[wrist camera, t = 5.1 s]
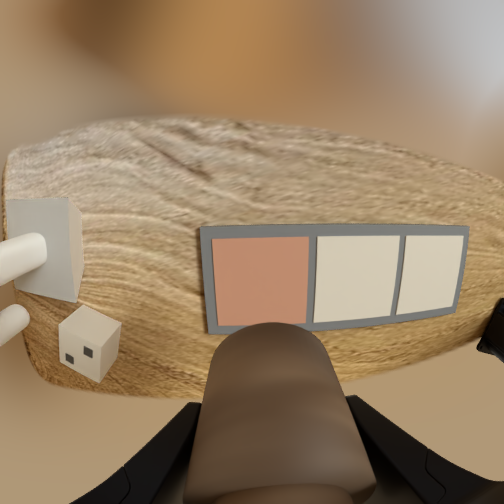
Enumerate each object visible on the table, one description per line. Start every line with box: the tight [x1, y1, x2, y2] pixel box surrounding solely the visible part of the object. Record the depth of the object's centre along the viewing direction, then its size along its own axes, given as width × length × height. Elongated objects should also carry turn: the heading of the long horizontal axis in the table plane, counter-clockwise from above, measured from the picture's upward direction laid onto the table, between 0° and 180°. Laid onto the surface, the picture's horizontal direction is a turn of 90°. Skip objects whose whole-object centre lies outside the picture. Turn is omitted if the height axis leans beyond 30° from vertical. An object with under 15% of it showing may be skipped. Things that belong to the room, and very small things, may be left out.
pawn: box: [182, 322, 377, 504], centre depth 6 cm, size 4×4×8 cm
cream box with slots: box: [59, 305, 122, 384], centre depth 19 cm, size 4×4×4 cm
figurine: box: [0, 197, 84, 347], centre depth 11 cm, size 7×9×15 cm
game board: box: [200, 224, 469, 334], centre depth 19 cm, size 22×8×1 cm, turn 91°
